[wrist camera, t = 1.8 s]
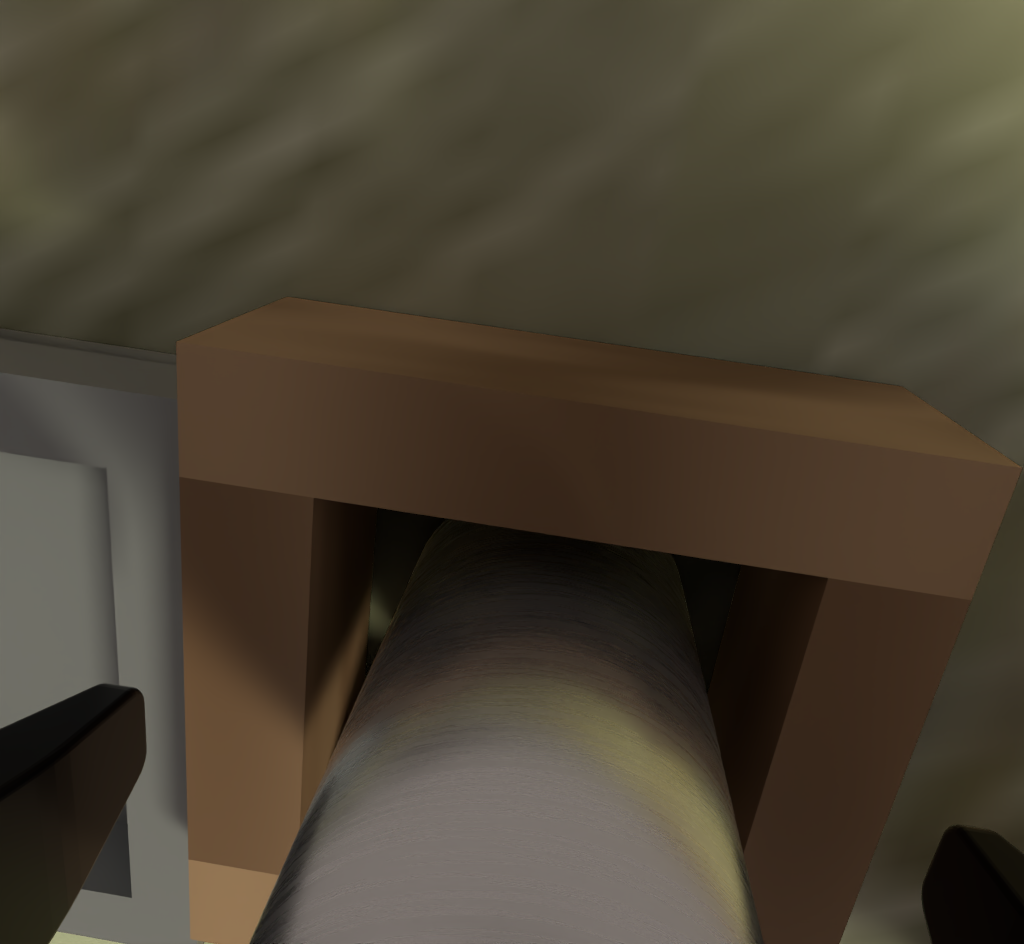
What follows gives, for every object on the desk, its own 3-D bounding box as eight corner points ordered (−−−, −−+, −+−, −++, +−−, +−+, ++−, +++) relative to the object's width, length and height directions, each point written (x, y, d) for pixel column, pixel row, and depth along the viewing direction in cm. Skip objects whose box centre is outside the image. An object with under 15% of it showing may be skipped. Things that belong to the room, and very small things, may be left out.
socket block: (902, 386, 10) (1022, 468, 7) (753, 859, 13) (799, 1047, 10) (287, 296, 10) (175, 341, 8) (274, 778, 13) (190, 939, 10)
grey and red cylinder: (710, 504, 11) (1114, 1601, 3) (655, 740, 12) (795, 1938, 4) (423, 461, 11) (-90, 1357, 3) (401, 697, 13) (20, 1763, 4)
